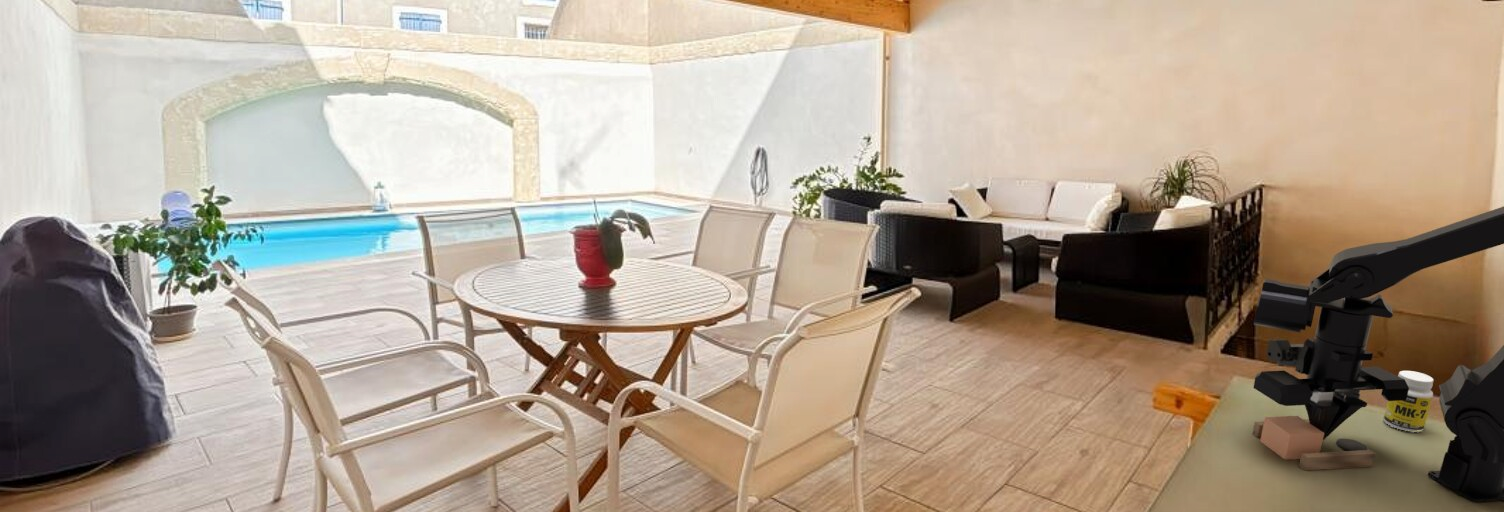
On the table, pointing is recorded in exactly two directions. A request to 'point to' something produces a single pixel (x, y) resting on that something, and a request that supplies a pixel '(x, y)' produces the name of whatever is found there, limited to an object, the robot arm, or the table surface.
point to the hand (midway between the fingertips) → (1318, 438)
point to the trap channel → (1332, 454)
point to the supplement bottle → (1411, 403)
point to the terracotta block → (1291, 436)
